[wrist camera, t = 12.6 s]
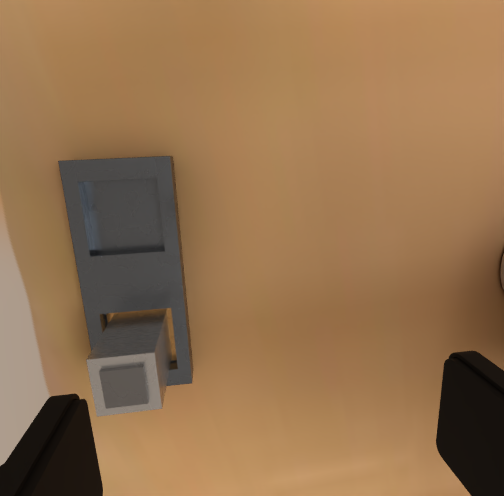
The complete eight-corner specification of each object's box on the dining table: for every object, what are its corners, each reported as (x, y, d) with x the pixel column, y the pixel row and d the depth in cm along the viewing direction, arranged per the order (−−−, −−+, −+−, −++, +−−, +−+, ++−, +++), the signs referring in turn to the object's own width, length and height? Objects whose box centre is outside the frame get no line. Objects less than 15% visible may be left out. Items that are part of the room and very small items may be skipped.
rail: (172, 156, 32) (169, 156, 30) (193, 368, 38) (192, 383, 35) (69, 160, 31) (58, 160, 29) (106, 377, 37) (98, 393, 34)
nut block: (166, 309, 35) (153, 355, 26) (172, 354, 36) (161, 412, 28) (114, 314, 34) (84, 362, 26) (121, 360, 35) (95, 420, 27)
